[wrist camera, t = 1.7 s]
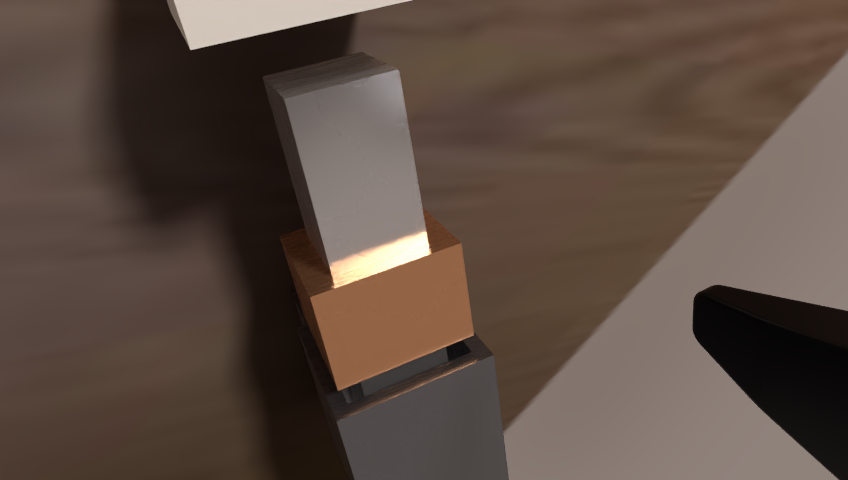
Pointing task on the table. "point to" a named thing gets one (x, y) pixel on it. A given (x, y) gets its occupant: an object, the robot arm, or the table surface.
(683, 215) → the table surface
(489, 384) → the metal sleeve
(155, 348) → the table surface
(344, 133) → the grey and copper post
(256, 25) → the socket block
